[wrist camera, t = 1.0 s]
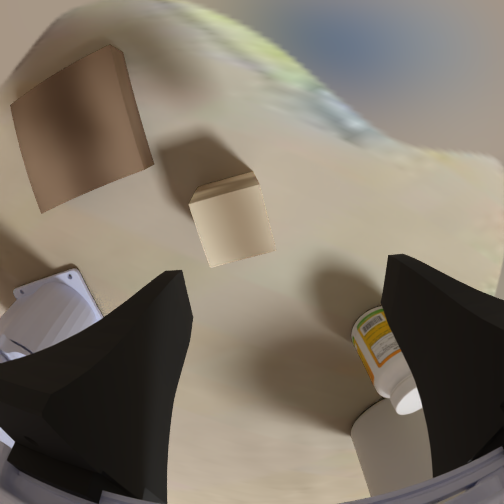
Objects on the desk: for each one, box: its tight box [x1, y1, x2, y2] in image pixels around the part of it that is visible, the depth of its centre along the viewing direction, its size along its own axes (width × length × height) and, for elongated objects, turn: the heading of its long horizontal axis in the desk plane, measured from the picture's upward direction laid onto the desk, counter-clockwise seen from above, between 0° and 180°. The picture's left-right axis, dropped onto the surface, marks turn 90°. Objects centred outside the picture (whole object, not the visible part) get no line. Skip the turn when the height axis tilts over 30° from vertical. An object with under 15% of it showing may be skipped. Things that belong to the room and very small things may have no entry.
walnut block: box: [10, 45, 154, 214], centre depth 17 cm, size 9×9×3 cm
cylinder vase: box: [351, 398, 466, 504], centre depth 23 cm, size 12×12×25 cm
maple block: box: [189, 172, 276, 268], centre depth 19 cm, size 4×4×5 cm
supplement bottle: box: [351, 306, 422, 415], centre depth 22 cm, size 5×5×10 cm
